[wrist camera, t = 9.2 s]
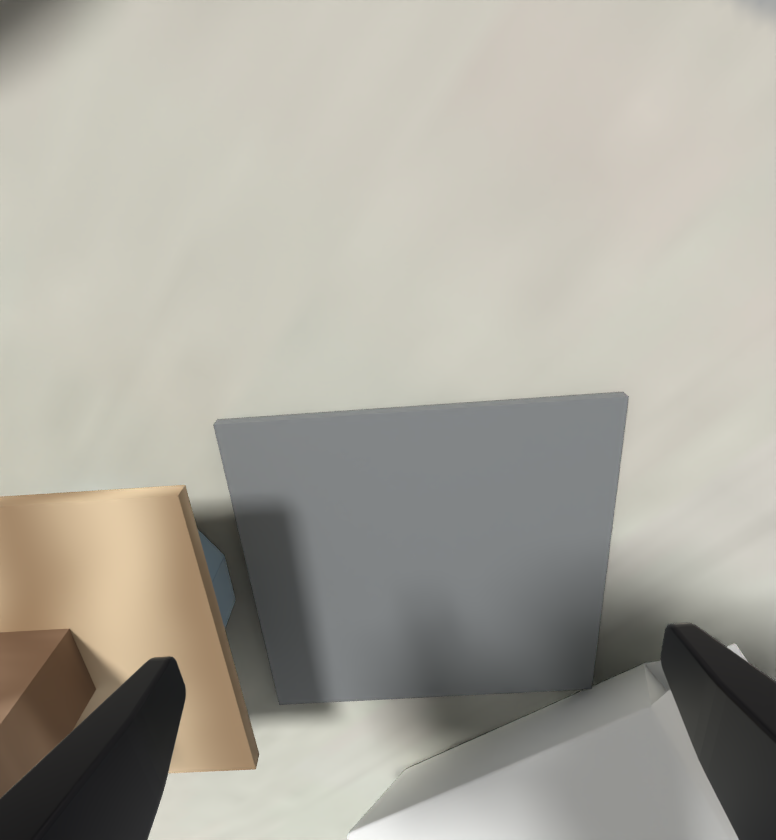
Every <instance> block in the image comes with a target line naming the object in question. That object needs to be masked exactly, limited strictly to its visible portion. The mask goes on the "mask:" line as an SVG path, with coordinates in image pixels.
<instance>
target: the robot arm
mask: <svg viewBox="0 0 776 840" xmlns="http://www.w3.org/2000/svg"><path fill="white" fill-rule="evenodd" d="M661 665H662V669H663V672H664V674H665V677H666V679H667V682H668V685H669V687H670V690H671V692H672V695H673V697H674V700H675V702H676V705H677V707H678V710H679V712H680V715H681V717H682V720H683V723H684V725H685V728H686V730H687V733H688V735H689V738H690V740H691V743H692V745H693V748H694V750H695V752H696V755H697V757H698V760H699V762H700V764H701V766H702V768H703V770H704V772H705V774H706V776H707V778H708V780H709V782H710V784H711V786H712V788H713V790H714V792H715V794H716V796H717V798H718V800H719V802H720V804H721V806H722V808H723V810H724V812H725V814H726V816H727V817H728V819H729V821H730V823H731V825H732V827H733V829H734V831H735V833H736V835H737V837H738V839H739V840H776V681H774V680H773V679H771V678H770V677H769V676H767V675H766V674H764V673H763V672H761V671H760V670H759V669H757V668H756V667H754V666H753V665H752V664H750V663H749V662H747V661H746V660H744V659H743V658H742V657H740V656H739V655H737V654H736V653H734V652H733V651H732V650H730V649H729V648H727V647H726V646H725V645H723V644H722V643H720V642H719V641H717V640H716V639H715V638H713V637H712V636H710V635H709V634H708V633H706V632H705V631H703V630H702V629H700V628H699V627H698V626H696V625H694V624H692V623H673V624H668V625H667V627H666V629H665V633H664V639H663V645H662V651H661ZM185 699H186V687H185V683H184V680H183V678H182V675H181V672H180V669H179V667H178V664H177V661H176V659H175V658H174V657H171V656H166V657H154V658H151V659H149V660H148V661H147V662H146V663H144V664H143V665H142V666H141V667H140V668H139V669H138V670H137V671H136V672H135V673H134V674H133V675H132V676H131V677H129V678H128V679H127V680H126V681H125V682H124V683H123V684H122V685H121V686H120V687H119V688H118V689H117V690H116V691H114V692H113V693H112V694H111V695H110V696H109V697H108V698H107V699H106V700H105V701H104V702H103V703H102V704H101V705H99V706H98V707H97V708H96V709H95V710H94V711H93V712H92V713H91V714H90V715H89V716H88V717H87V718H86V719H84V720H83V721H82V722H81V723H80V724H79V725H78V726H77V727H76V728H75V729H74V730H73V731H72V732H71V733H69V734H68V735H67V736H66V737H65V738H64V739H63V740H62V741H61V742H60V743H59V744H58V745H57V746H56V747H54V748H53V749H52V750H51V751H50V752H49V753H48V754H47V755H46V756H45V757H44V758H43V759H42V760H41V761H39V762H38V763H37V764H36V765H35V766H34V767H33V768H32V769H31V770H30V771H29V772H28V773H27V774H26V775H24V776H23V777H22V778H21V779H20V780H19V781H18V782H17V783H16V784H15V785H14V786H13V787H12V788H11V789H9V790H8V791H7V792H6V793H5V794H4V795H3V796H2V797H1V798H0V840H147V839H148V836H149V833H150V830H151V827H152V825H153V822H154V819H155V816H156V813H157V810H158V807H159V804H160V800H161V797H162V794H163V791H164V787H165V784H166V780H167V776H168V772H169V768H170V763H171V759H172V755H173V751H174V746H175V742H176V738H177V734H178V729H179V725H180V721H181V717H182V712H183V708H184V704H185Z"/></svg>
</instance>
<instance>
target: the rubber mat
mask: <svg viewBox="0 0 776 840" xmlns="http://www.w3.org/2000/svg"><path fill="white" fill-rule="evenodd" d="M628 397H629V396H627V395H626V394H625V393H624V392H613V393H598V394H584V395H569V396H554V397H540V398H525V399H510V400H496V401H481V402H467V403H452V404H437V405H423V406H408V407H393V408H379V409H364V410H349V411H335V412H320V413H305V414H291V415H276V416H261V417H247V418H232V419H217V421H216V422H215V423H214V429H215V434H216V438H217V442H218V446H219V450H220V455H221V459H222V463H223V467H224V472H225V476H226V480H227V484H228V489H229V493H230V497H231V501H232V506H233V510H234V514H235V518H236V523H237V527H238V531H239V535H240V540H241V544H242V548H243V552H244V557H245V561H246V565H247V569H248V574H249V578H250V582H251V586H252V591H253V595H254V599H255V603H256V608H257V612H258V616H259V620H260V625H261V629H262V633H263V637H264V642H265V646H266V650H267V654H268V659H269V663H270V667H271V671H272V676H273V680H274V684H275V688H276V692H277V697H278V701H279V705H284V704H304V703H324V702H343V701H363V700H383V699H403V698H423V697H443V696H463V695H482V694H502V693H522V692H542V691H562V690H582V689H592V683H593V675H594V667H595V659H596V651H597V643H598V635H599V627H600V619H601V611H602V603H603V595H604V587H605V580H606V572H607V564H608V556H609V548H610V540H611V532H612V524H613V516H614V508H615V500H616V492H617V484H618V476H619V469H620V461H621V453H622V445H623V437H624V429H625V421H626V413H627V405H628Z"/></svg>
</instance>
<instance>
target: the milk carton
mask: <svg viewBox="0 0 776 840" xmlns="http://www.w3.org/2000/svg"><path fill="white" fill-rule="evenodd" d="M727 648H729V649H730V650H732V651H733V652H734V653H736V654H737V655H739V656H740V657H742V658H743V659H744V660H746V661H747V659H746V658H745V656H744V655H743V653H742V652H741V650H740V649H739V648H738V646H737V645H736V644H735V643H734V644H731V645H729V646H727ZM747 662H748V661H747ZM347 839H348V840H739V839H738V837H737V835H736V833H735V831H734V829H733V827H732V825H731V823H730V821H729V819H728V817H727V816H726V814H725V812H724V810H723V808H722V806H721V804H720V802H719V800H718V798H717V796H716V794H715V792H714V790H713V788H712V786H711V784H710V782H709V780H708V778H707V776H706V774H705V772H704V770H703V768H702V766H701V764H700V762H699V760H698V757H697V755H696V752H695V750H694V748H693V745H692V743H691V740H690V738H689V735H688V733H687V730H686V728H685V725H684V723H683V720H682V717H681V715H680V712H679V710H678V707H677V705H676V702H675V700H674V697H673V695H672V692H671V690H670V687H669V685H668V682H667V679H666V677H665V674H664V672H663V669H662V665H661V661H655V662H648V663H643V664H642V665H640V666H637V667H635V668H633V669H631V670H628V671H626V672H624V673H622V674H619V675H617V676H615V677H612V678H610V679H608V680H606V681H603V682H601V683H599V684H597V685H594V686H592V689H585V690H583V691H581V692H579V693H576V694H574V695H572V696H570V697H567V698H565V699H563V700H561V701H558V702H556V703H554V704H552V705H549V706H547V707H545V708H543V709H540V710H538V711H536V712H534V713H531V714H529V715H527V716H524V717H522V718H520V719H518V720H515V721H513V722H511V723H509V724H506V725H504V726H502V727H500V728H497V729H495V730H493V731H491V732H488V733H486V734H484V735H482V736H479V737H477V738H475V739H473V740H470V741H468V742H466V743H464V744H461V745H459V746H457V747H455V748H452V749H450V750H448V751H446V752H443V753H441V754H439V755H436V756H434V757H432V758H430V759H427V760H425V761H423V762H421V763H418V764H416V765H414V766H412V767H409V768H407V769H406V770H404V771H403V772H402V773H401V774H400V776H399V777H398V778H397V779H396V780H395V781H394V782H393V783H392V785H391V786H390V787H389V788H388V789H387V790H386V791H385V792H384V793H383V795H382V796H381V797H380V798H379V799H378V800H377V801H376V802H375V804H374V805H373V806H372V807H371V808H370V809H369V810H368V811H367V812H366V814H365V815H364V816H363V817H362V818H361V819H360V820H359V821H358V823H357V824H356V825H355V826H354V827H353V828H352V829H351V830H350V831H349V833H348V835H347Z"/></svg>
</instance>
